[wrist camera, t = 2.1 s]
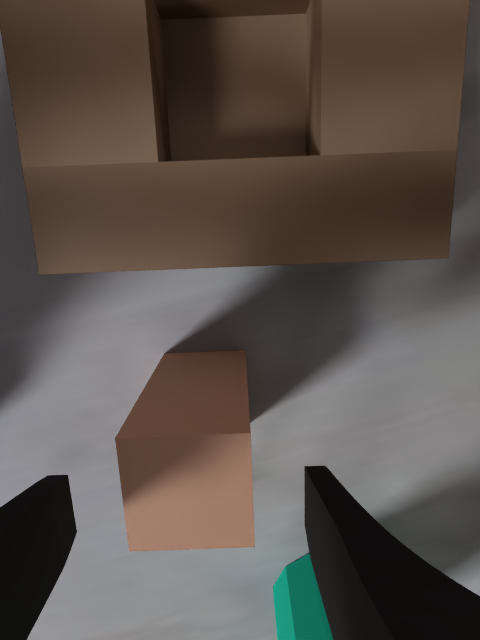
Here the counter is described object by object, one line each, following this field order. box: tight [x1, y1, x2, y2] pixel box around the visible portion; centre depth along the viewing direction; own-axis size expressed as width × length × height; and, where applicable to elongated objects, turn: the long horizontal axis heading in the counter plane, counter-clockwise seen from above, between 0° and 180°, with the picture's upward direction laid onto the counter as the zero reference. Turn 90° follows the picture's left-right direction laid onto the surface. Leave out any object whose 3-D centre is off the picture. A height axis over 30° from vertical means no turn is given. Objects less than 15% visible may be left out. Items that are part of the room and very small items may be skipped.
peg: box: [115, 350, 255, 551], centre depth 16 cm, size 4×4×8 cm
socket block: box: [0, 0, 470, 275], centre depth 15 cm, size 13×15×4 cm
